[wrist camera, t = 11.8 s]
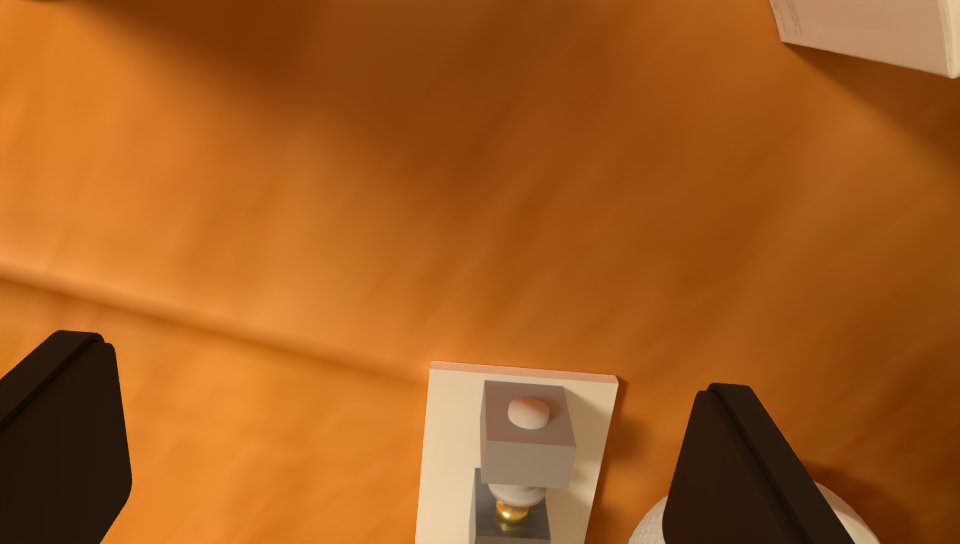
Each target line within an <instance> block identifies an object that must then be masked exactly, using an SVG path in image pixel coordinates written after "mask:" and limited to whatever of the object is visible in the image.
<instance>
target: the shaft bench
mask: <svg viewBox="0 0 960 544" xmlns="http://www.w3.org/2000/svg"><path fill="white" fill-rule="evenodd" d="M618 385H619V383H618V381H617V378H616V375H606V374H594V373H582V372H569V371H557V370H544V369H532V368H519V367H507V366H494V365H482V364H469V363H457V362H444V361H432V360H431V361H430V371H429V383H428V395H427V407H426V419H425V430H424V442H423V454H422V466H421V478H420V490H419V502H418V514H417V526H416V538H415V544H469V519H470V510H471V500H472V491H473V481H474V472H475V468H481V483H487V484H488V486H489V489H490V491H491V493H492V494H493V495H494V497H496V498H497V499H498V500H499V501H501V502H503V503H505V504H507V505H511V506H515V507H528V506H533V505H535V504H537V503H539V502H540V501H541V500H542V499H543V498H544V497H545V501H546V508H547V515H548V522H549V529H550V536H551V543H550V544H584V540H585V536H586V531H587V527H588V522H589V518H590V513H591V508H592V504H593V499H594V495H595V490H596V485H597V481H598V476H599V472H600V467H601V463H602V458H603V453H604V449H605V444H606V440H607V435H608V430H609V426H610V421H611V417H612V412H613V408H614V403H615V398H616V394H617V389H618Z"/></svg>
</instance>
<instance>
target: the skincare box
mask: <svg viewBox="0 0 960 544" xmlns="http://www.w3.org/2000/svg"><path fill="white" fill-rule="evenodd" d="M770 3H771V6H772V9H773V12H774V15H775V18H776V22H777V27H778V31H779V35H780V39H781V41H782V42H785V43H790V44H795V45H800V46H805V47H810V48H815V49H820V50H825V51H830V52H834V53H839V54H844V55H849V56H853V57H858V58H863V59H867V60H872V61H877V62H882V63H886V64H891V65H896V66H901V67H905V68H910V69H914V70H919V71H924V72H928V73H932V74H937V75H941V76H944V77H947V78H950V79H954V78H957V77H960V0H770Z"/></svg>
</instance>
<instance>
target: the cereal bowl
mask: <svg viewBox="0 0 960 544" xmlns="http://www.w3.org/2000/svg"><path fill="white" fill-rule="evenodd" d="M814 483H815V484H816V486H817V487H818V489H819V490H820V492H821V493H822V494H823V496H824V497H825V499H826V500H827V502H828V503H829V505H830V506H831V508H832V509H833V511H834V512H835V514H836V515H837V517H838V518H839V520H840V521H841V523H842V524H843V526H844V527H845V529H846V530H847V532H848V533H849V535H850V536H851V538H852V539H853V541H854V542H855V544H880V542H879V540H878V538H877V537H876V535H875V534H874V533H873V532H872V530H871V529H870V528H869V526H868V525H867V524H866V523H865V522H864V521H863V520H862V518H861V517H860V516H859V515H858V514H857V513H856V512H855V511H854V510H853V509H852V507H850V506H849V505H848V504H847V503H846V502H844V501H843V500H842V499H841V498H839V497H838V496H837V495H836V494H835V493H833V492H832V491H830V490H829V489H827V488H826V487H824V486H823V485H821V484H819V483H817V482H815V481H814ZM667 498H668V495H667V496H665V497H664V498H662V499H661V500H660V501H659V502H658V503H657V504H655V505H654V506H653V507H652V508H651V510H650V511H649V512H648V513H646V515H645V517H644V518H643V519H642V520H641V521H640V522H639V525H638V526H637V528H636V529H635V530H634V532H633V534H632V536H631V538H630V539H629V542H628V544H665V541H664V538H663V532H662V517H663V512H664V509H665V505H666V501H667Z"/></svg>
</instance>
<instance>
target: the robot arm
mask: <svg viewBox="0 0 960 544" xmlns="http://www.w3.org/2000/svg"><path fill="white" fill-rule="evenodd" d="M131 487H132V473H131V465H130V458H129V451H128V443H127V436H126V428H125V421H124V413H123V406H122V398H121V391H120V383H119V376H118V368H117V361H116V353H115V349H114V347H113V345H112V344H110V343H105V342H104V339H103V337H102V336H101V335H100V334H98V333H92V332H79V331H67V330H58V331H56V332H54V333H53V334H52V335H51V336H49V337H48V338H47V339H46V340H45V341H44V342H43V343H41V344H40V345H39V346H38V347H37V348H36V349H34V350H33V351H32V352H31V353H30V354H29V355H28V356H26V357H25V358H24V359H23V360H22V361H21V362H20V363H18V364H17V365H16V366H15V367H14V368H13V369H12V370H10V371H9V372H8V373H7V374H6V375H5V376H4V377H2V378H1V379H0V544H100V542H101V541H102V539H103V538H104V536H105V535H106V533H107V532H108V530H109V528H110V527H111V525H112V524H113V522H114V521H115V519H116V518H117V516H118V514H119V513H120V511H121V510H122V508H123V507H124V505H125V504H126V502H127V500H128V497H129V495H130V491H131ZM662 532H663V538H664V541H665V544H855V542H854V541H853V539H852V538H851V536H850V535H849V533H848V532H847V530H846V529H845V527H844V526H843V524H842V523H841V521H840V520H839V518H838V517H837V515H836V514H835V512H834V511H833V509H832V508H831V506H830V505H829V503H828V502H827V500H826V499H825V497H824V496H823V494H822V493H821V492H820V490H819V489H818V487H817V486H816V484H815V483H814V481H813V480H812V478H811V477H810V475H809V474H808V472H807V471H806V469H805V468H804V466H803V465H802V463H801V462H800V460H799V459H798V457H797V456H796V454H795V453H794V451H793V450H792V448H791V447H790V445H789V444H788V442H787V441H786V439H785V438H784V436H783V435H782V434H781V432H780V431H779V429H778V428H777V426H776V425H775V423H774V422H773V420H772V419H771V417H770V416H769V414H768V413H767V411H766V410H765V408H764V407H763V405H762V404H761V402H760V401H759V399H758V398H757V396H756V395H755V393H754V392H753V390H752V389H751V388H750V387H749V386H746V385H737V384H724V383H712V384H710V385H709V387H708V388H707V390H706V391H702V390H701V391H699V392H698V393H697V395H696V397H695V400H694V404H693V407H692V411H691V415H690V418H689V422H688V426H687V429H686V433H685V436H684V440H683V444H682V447H681V451H680V454H679V458H678V462H677V465H676V469H675V473H674V476H673V480H672V483H671V487H670V491H669V494H668V498H667V501H666V505H665V509H664V512H663V517H662Z"/></svg>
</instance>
